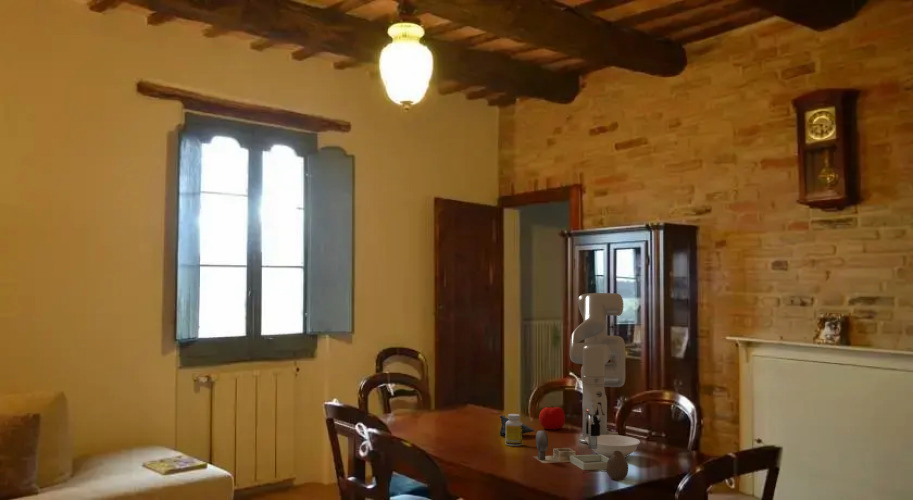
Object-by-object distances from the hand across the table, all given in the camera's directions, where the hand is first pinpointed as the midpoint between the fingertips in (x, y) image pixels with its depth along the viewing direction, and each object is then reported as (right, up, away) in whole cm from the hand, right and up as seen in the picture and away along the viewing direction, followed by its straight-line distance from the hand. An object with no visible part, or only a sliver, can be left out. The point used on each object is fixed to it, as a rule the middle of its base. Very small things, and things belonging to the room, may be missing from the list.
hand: (592, 434), depth 268 cm
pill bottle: (-25, -13, +36) cm, 45 cm away
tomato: (-6, -15, +71) cm, 72 cm away
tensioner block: (-12, -12, +8) cm, 18 cm away
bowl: (+10, -13, +17) cm, 23 cm away
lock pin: (0, -5, 0) cm, 5 cm away
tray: (0, -11, 0) cm, 11 cm away
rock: (-23, -14, +55) cm, 61 cm away
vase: (+5, -11, -14) cm, 19 cm away
